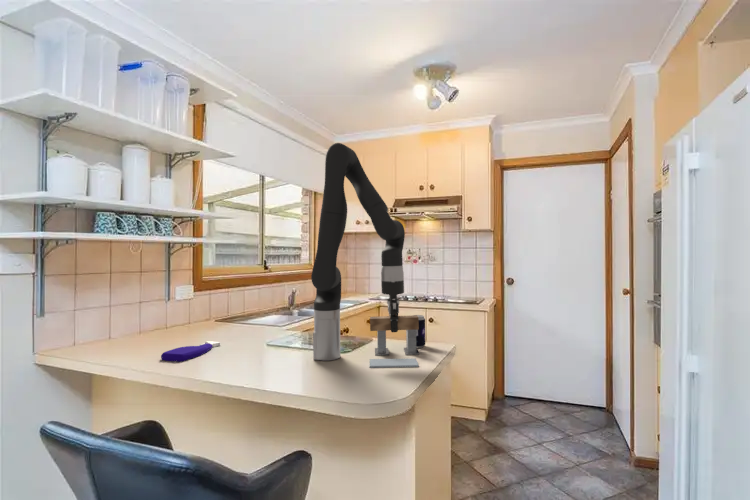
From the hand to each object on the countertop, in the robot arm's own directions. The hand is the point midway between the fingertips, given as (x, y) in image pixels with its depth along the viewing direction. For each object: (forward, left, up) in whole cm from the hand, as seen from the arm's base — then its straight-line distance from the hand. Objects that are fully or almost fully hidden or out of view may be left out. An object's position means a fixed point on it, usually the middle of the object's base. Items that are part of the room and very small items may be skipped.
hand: (393, 330), depth 135 cm
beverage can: (+11, +23, -11) cm, 28 cm away
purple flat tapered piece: (-75, +19, -12) cm, 78 cm away
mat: (0, 0, -11) cm, 11 cm away
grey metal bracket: (-4, +15, -11) cm, 19 cm away
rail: (0, 0, 0) cm, 0 cm away
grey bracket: (+7, +15, -11) cm, 20 cm away
